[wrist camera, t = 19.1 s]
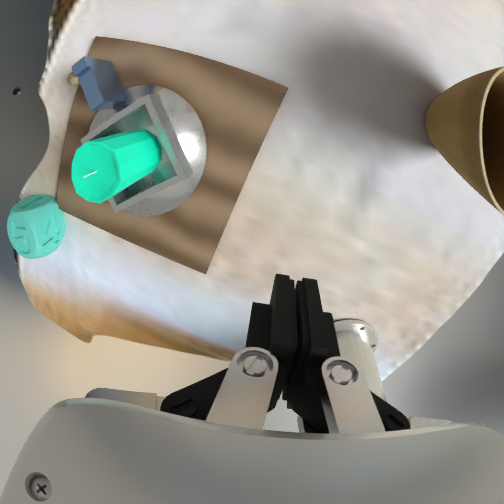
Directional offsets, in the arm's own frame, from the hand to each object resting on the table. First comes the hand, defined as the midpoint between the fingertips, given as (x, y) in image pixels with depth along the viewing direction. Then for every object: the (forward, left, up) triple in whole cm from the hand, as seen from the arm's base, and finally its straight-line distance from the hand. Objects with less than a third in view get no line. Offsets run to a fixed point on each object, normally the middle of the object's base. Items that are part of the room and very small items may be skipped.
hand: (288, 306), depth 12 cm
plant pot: (+17, -17, -25) cm, 35 cm away
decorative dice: (-20, +33, -26) cm, 46 cm away
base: (-4, +17, -25) cm, 30 cm away
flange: (-2, +19, -24) cm, 30 cm away
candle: (-4, +17, -23) cm, 29 cm away
